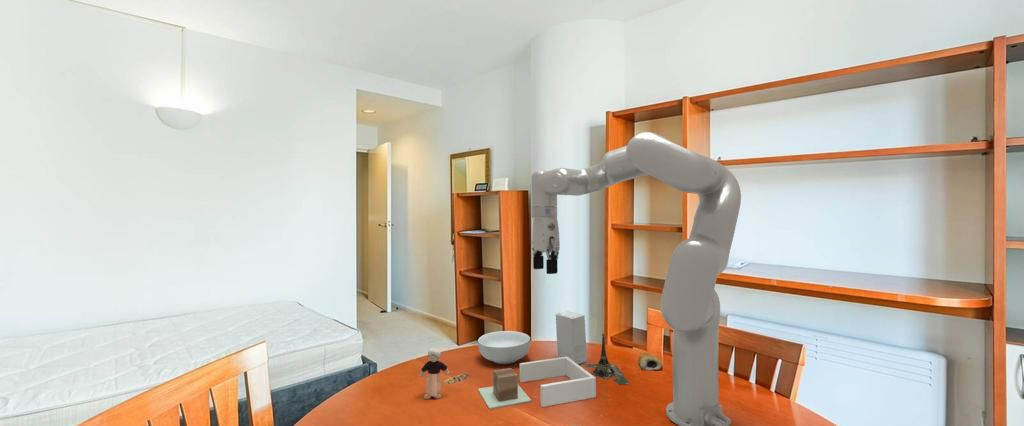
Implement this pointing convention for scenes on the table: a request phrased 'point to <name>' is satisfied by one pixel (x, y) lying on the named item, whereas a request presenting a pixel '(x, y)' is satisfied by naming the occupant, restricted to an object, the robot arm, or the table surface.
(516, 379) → the walnut block
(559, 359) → the open side box
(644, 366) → the pastry
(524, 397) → the sage mat
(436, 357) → the grandmother figurine
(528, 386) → the table surface
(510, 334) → the cereal bowl
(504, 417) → the table surface
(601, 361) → the eiffel tower figurine
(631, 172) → the robot arm
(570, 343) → the skincare box
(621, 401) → the table surface
